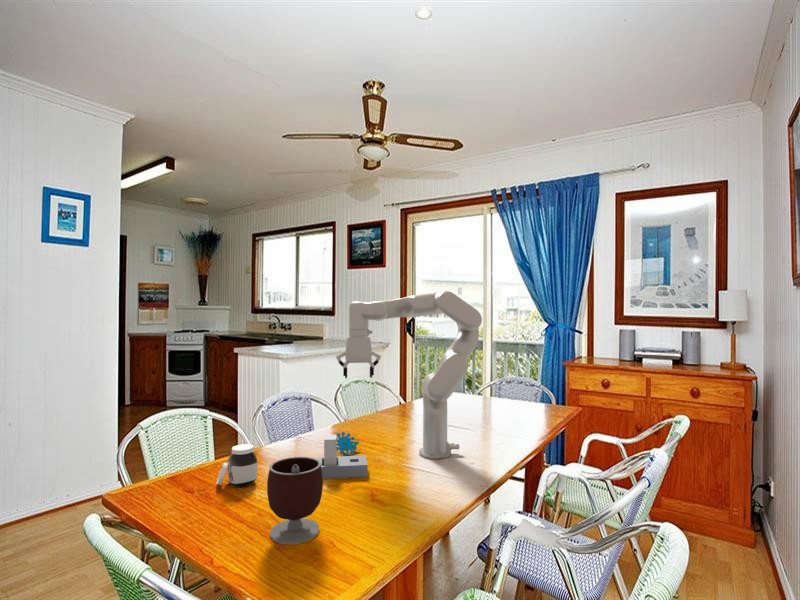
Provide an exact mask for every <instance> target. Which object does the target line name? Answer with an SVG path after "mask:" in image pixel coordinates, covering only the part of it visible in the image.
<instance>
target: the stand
mask: <svg viewBox="0 0 800 600" xmlns="http://www.w3.org/2000/svg"><path fill="white" fill-rule="evenodd" d="M317 460H319V461H320V463H321V469H322V475H323V480H328V479H329V480H331V478H332V479H347V478H348V479H349V477H352V478H366V477H367V476H368V474H369V473H368V472H369V471H368V466H369V465H368V460H367V456H366V454H365V455H348V456H347V455H343V456H342V455H341V456H337V465H328V466H324V456H322V457H321V456H320V457H319V456H318V457H317ZM367 478H368V477H367Z"/></svg>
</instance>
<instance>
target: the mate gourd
mask: <svg viewBox="0 0 800 600" xmlns="http://www.w3.org/2000/svg"><path fill="white" fill-rule="evenodd" d="M266 480H267V481H266V482H267V483H266V492H267V493H266V494H267V499H268V505H269V508H270V510H271V511H272V512H273V513H274V515H275V516H276V517H277V518H279V519H282V520H284V521H281V522H278V523H277V524H275V525H274V526H273V527H272V528H271V529H270V531H269V536H270V537H269V538H270V539H271V541H273V542H274V541H275V543H276V542H277V544H279V543H280V545H284V544H287V545H286V546H288V544H289V546H291V545H290V544H294V545H300V544H299V543H301V544H304V543H306V541H307V542H309V541H308V540H310V541H311V540H314V539H315V538H316V537H317V536H318V535H319V533H320V525H319V523H318V522H317V521H315V520H312V519H309V518H307V517H309V516H311V515H312V514H313V513H314V512H315V511H316V509H317V508H318V506H319V505H320V503H321V500H322V495H323V487H324V484H323V483H324V479H323V475H322V469H321V463H320V461H319V460H318V458H317V459H316V458H314V457H310V456H293V457H291V456H290V457H285V458H281V459H278V460H276V461H274V462H272V463H270V465H269V470H268V475H267V479H266ZM317 534H318V535H317ZM316 535H317V536H316ZM315 536H316V537H315ZM314 537H315V538H314ZM303 542H304V543H303Z"/></svg>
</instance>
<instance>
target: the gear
mask: <svg viewBox="0 0 800 600" xmlns="http://www.w3.org/2000/svg"><path fill="white" fill-rule="evenodd" d="M345 434H346V436H345ZM336 435H337V452H338V450H339V454H340V455H341V456H342V455H343V454H344V452H345V455H344V456H347V455H348V456H350V455H353V454H355V451H356V450H357V449H358V447H357V446H358V445H359V444H360V441H359V440H357V441H355V440H356V439H355V436H351V433H349V432H348V433H346V432H345V431H342V432H341V433H340V432H338V433H336ZM352 449H353V450H352ZM349 450H350V452H349Z"/></svg>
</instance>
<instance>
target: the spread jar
mask: <svg viewBox="0 0 800 600" xmlns="http://www.w3.org/2000/svg"><path fill="white" fill-rule="evenodd" d="M254 448H255V447H254V445H253V444H250V443H242V444H238V445H237V444H236V445H234V446H232V447H231V454H230V455H229V456H228V458H227V462H223V463H222V465H221V467H220V470H219V473H218V477H217V480H216V485H218V486H221V485H222V484H223V483H224V482H223V481H224V479H225V476H226V473H227V479H228V482H229V484H230V485H231V487H234V486H236V487H235V488H243V486H244V487H248V486H250V484H251V485H252V484H254V483H255V482H256V481H257V479H258V458H257V456H256V454H255V452H254Z"/></svg>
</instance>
